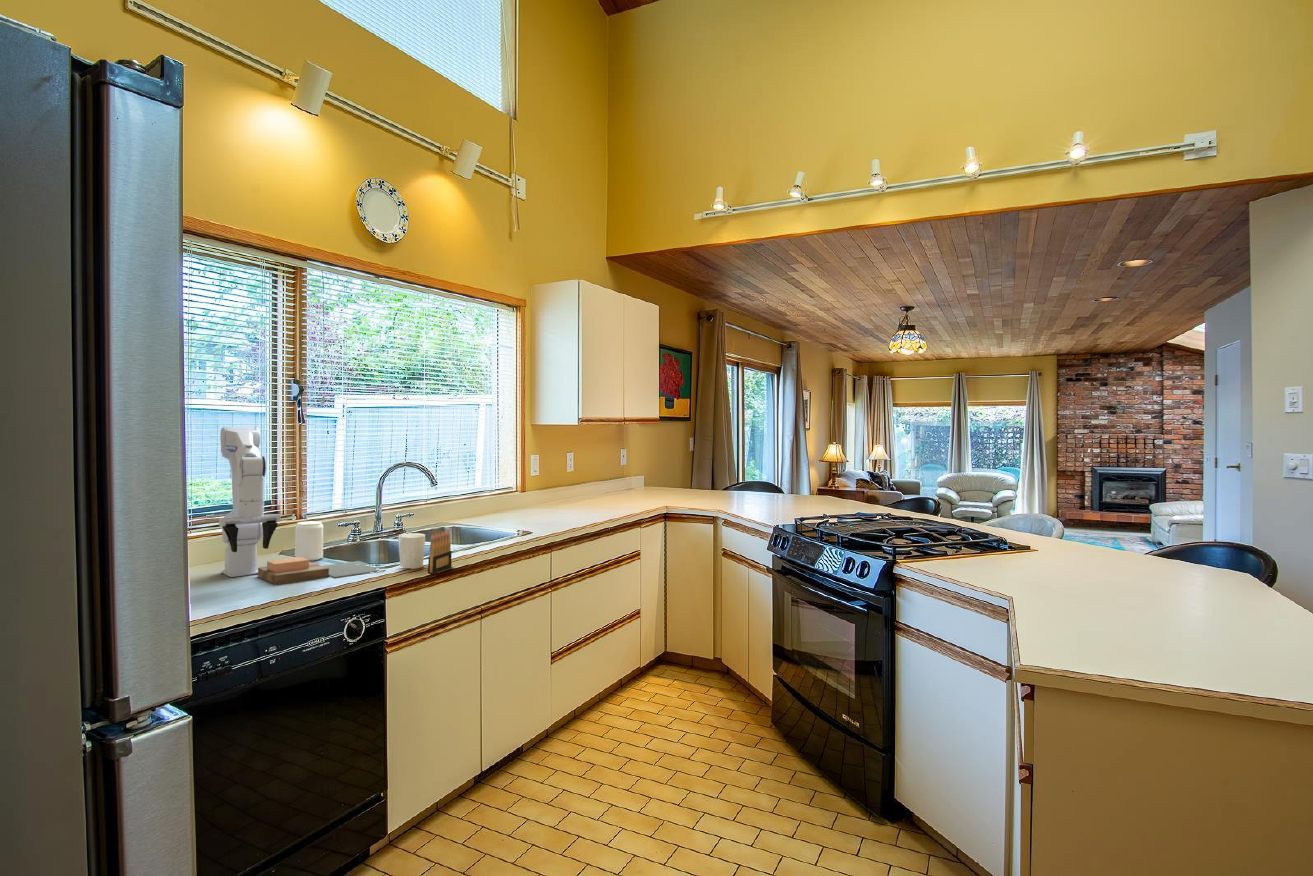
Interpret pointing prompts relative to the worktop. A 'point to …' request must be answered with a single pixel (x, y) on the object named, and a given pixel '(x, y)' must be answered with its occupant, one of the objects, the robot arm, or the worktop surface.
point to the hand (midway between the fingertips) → (250, 549)
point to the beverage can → (309, 540)
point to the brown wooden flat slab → (294, 574)
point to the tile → (287, 564)
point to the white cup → (411, 550)
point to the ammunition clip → (439, 552)
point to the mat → (349, 569)
